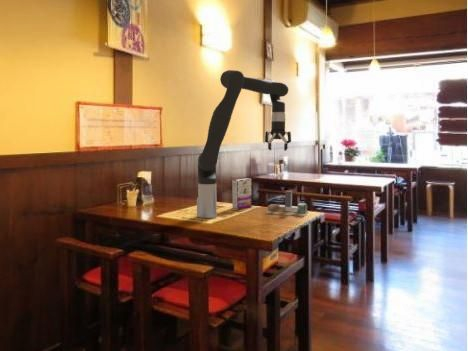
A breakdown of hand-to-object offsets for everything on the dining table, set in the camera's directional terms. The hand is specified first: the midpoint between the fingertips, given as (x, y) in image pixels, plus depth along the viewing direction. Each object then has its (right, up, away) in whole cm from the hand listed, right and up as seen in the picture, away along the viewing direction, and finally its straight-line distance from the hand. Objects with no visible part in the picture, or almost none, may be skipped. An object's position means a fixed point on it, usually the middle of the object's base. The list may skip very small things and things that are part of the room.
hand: (277, 150), depth 222 cm
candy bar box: (-20, -32, +9) cm, 39 cm away
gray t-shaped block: (+6, -33, -7) cm, 34 cm away
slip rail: (+4, -34, -7) cm, 35 cm away
